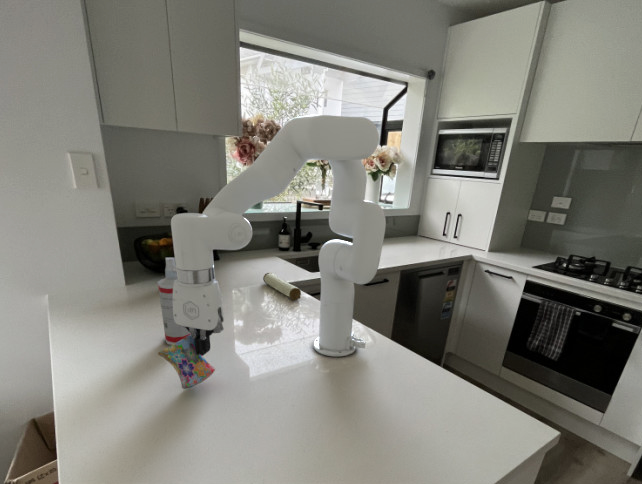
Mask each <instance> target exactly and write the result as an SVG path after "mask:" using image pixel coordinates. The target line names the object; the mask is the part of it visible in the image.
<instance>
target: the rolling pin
mask: <svg viewBox="0 0 642 484" xmlns="http://www.w3.org/2000/svg"><path fill="white" fill-rule="evenodd" d="M262 279H263V280H262V281H263V282H264V283H265V284H267V285H269V286H270V287H272V288H273V289H275V290H276V291H278V292H280V293H282V294H283V295H285V296H287V297H288V298H290V299H291V300H292V301H297V300H300V299H302V298H301V295H302V291H301V288H300V287H297V286H295V285H294V284H293V285H292V284H291V283H289V282H287V281H285V280H283V279H282V278H280V277H278V275H277V274H275V273H271V272H267V273H265V274H264V275H263V277H262Z"/></svg>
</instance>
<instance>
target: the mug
mask: <svg viewBox="0 0 642 484" xmlns="http://www.w3.org/2000/svg"><path fill="white" fill-rule="evenodd" d="M157 354H158V355H159V356H160V357H162V358H163V359H164V360H165V361H167V362H168V363H169V364H170V365H171V366H172V368H173V369H174V370H175V371H176V374H177V375H178V378H179V381H180V384H181V389H182V390H187V389H191V388H193V387H195V386H197V385H199V384H201V383H203V382H204V381H206V380H207V379H209V378H210V377H211V376H212V375H213V374H214V372H215V371H216V367H215V366H213V365H212V364H210V363H209V362H208V361H207V360H206V358H205V357H204V355H203V356H202V355H200V354H199V355H197V354H196V349H195V343H194V338H192V337H191V335H189V336H187V337H185V338H184V339H182V340H180V341H178V342H176V343H175V344H173V345H169V346H167V347H166V348H164V349H162V350H160V351H158V353H157Z"/></svg>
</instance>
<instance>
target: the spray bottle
mask: <svg viewBox="0 0 642 484" xmlns="http://www.w3.org/2000/svg"><path fill="white" fill-rule="evenodd" d="M164 260H165V269H164V273H165V278H163V279H160V280H158V281H157V286H158V294H159V302H160V309H161V317H162V323H163V324H162V325H163V330H164V338H165V342H166V343H167V345H169V346H171V345H173V344H175V343H176V342H178V341H180V340H182V339H184V338H185V337H187V336H189V335H191V333H190V332H189V331H188V330H187V329H186V328H183V327H181V326H179V325H178V324H176V323H175V321H174V316H173V286H174V281H175V280H177V274H176V273H173V267H176V264H175V257H165V259H164Z"/></svg>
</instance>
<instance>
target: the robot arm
mask: <svg viewBox="0 0 642 484" xmlns="http://www.w3.org/2000/svg"><path fill="white" fill-rule="evenodd" d="M379 134H380V133H379V130H378V127H377V125H376V124H375V122H373V121H372V120H371V119H369V118H368V117H364V116H345V115H330V114H309V115H302V116H295V117H292V118H291V119H289V120H288V121H286V122H285V123H284V124H283V126H282V127H281V128H280V129H279V130H278V131H277V132H276V134H275V135H274V136H273V138H272V139H271V140H270V142H269V143H268V144H267V145H266V146H265V148H264V149H263V150H262V151H261V153H260V154H259V155H258V157H257V158H256V159H255V160H254V161H253V163H251V164H250V166H249V167H247V168H246V169H244V170H243V171H241V172H240V173H239V174H237V176H236V177H234V178H233V179H232V180H230V181H229V182H228V183H226V184H225V186H223V187H222V188H221V189H220V191H218V193H216V195H215V196H214V197H213V198H212V199H211V201H210V202H209V203H208V204H207V206H206V207H205V208H204V210H203V211H202V213H197V212H183V213H177V214H175V215H173V216H172V217H171V220H170V228H171V237H172V245H173V253H174V259H175V266H176V267H173V273H176V274H177V280H175V281H174V286H173V316H174V321H175V323H176V324H178V325H179V326H181V327H183V328H186V329H187V330H188V331H189V332H190V333H191V337H192V338H194V343H195V349H196V354H197V355H199V354H200V355H202V356H203V357H204V356H205V355H206V354H207V353H209V352H210V350H211V336H212V335H213V334H220V333H222V332H223V331H224V329H225V328H224V326H223V323H224V321H225V315H224V314H225V313H224V304H223V298H222V297H223V296H222V293H221V288H220V285H219V282H218V280H216V276H215V275H216V274H215V264H214V263H215V262H214V252H213V251H214V250H223V251H238V250H241V249H243V248H245V247H247V246H248V245H249V243H250V242H251V240H252V238H253V227H252V224H251V223H250V222H249V220H248V219H247V218H246V217H244V216H243V215H244V214H245V213H246V212H247V211H248V210H250V209H251V208H252V207H254V206H256V205H257V204H259V203H262V202H265V201H268V200H271V199H273V198H276V197H277V196H279V195H281V194H283V193H284V192H285V190H286V189H287V188H288V186H289V185H291V183H292V181H293V180H294V179H295V178H296V177H297V175H298V174H299V172H300V171H301V170H302V168H303V167H304V166H305V165H306V164H307V162H309V161H310V160H311V161H327V163H328V164H329V166H330V169H331V172H332V190H331V198H330V206H329V215H328V225H329V228H330V230H331V231H332V232H333V233H334V234H337V235H339V236H341V237H342V236H343V237H346V238H350V239H352V242H350V241H346V240H342V239H331V240H328V241H327V242H325V243H324V244H323V245H322V246H321V248H320V249H319V253H318V258H317V259H318V260H317V261H318V270H319V276H320V299H319V300H320V302H319V303H320V304H319V306H320V307H319V325H318V329H319V330H318V331H319V332H318V337H317V338H316V339H314V341H313V349H314V350H315V351H316V352H317V353H319V354H320V355H324V356H328V357H345V356H349V355H352V354H353V353H354V352H356V348H359V349H366V343H367V342H366V341H364V338H360V337H356V336H355V332H354V331H353V319H354V307H355V306H354V305H355V296H356V295H355V284H356V285H367V284H368V283H370V282H371V281H372V280H374V278H375V276H376V275H377V272H378V270H379V266H380V262H381V258H382V257H381V256H382V250H383V245H384V239H385V234H386V228H387V227H386V226H387V221H386V220H387V219H386V215H385V212H384V209H383V208H382V207H381V206H380V205H379V204H378V203H377V202H374V201H372V200H371V201H370V200H366V191H367V190H366V189H367V183H368V182H367V179H368V178H367V171H366V167H365V165H364V162H363V160H367V159H368V158H370V157H371V156H372V155H373V154H374V153H375V152H376V151H377V148H378V145H379V142H380V135H379Z"/></svg>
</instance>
